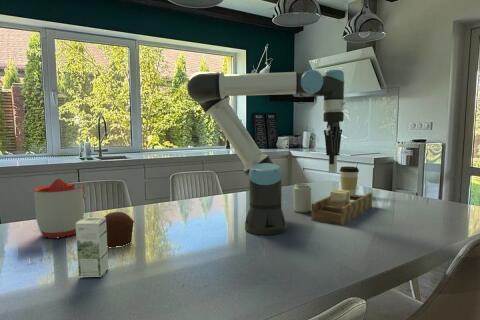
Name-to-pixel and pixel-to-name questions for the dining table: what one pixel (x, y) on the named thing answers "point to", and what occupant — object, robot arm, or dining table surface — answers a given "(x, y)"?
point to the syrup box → (92, 246)
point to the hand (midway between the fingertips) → (332, 172)
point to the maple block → (340, 198)
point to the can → (302, 198)
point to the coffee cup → (349, 179)
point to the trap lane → (340, 209)
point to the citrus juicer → (58, 208)
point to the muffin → (118, 229)
